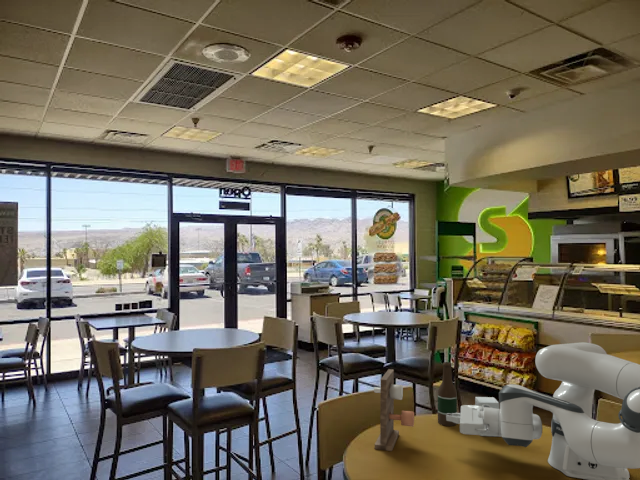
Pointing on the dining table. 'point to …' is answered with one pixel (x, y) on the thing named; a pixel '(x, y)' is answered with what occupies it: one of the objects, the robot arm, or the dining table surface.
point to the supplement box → (487, 403)
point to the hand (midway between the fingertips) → (446, 416)
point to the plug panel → (386, 415)
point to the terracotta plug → (404, 418)
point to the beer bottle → (446, 396)
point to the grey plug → (393, 391)
